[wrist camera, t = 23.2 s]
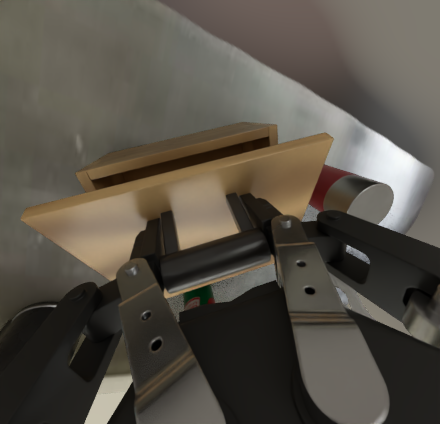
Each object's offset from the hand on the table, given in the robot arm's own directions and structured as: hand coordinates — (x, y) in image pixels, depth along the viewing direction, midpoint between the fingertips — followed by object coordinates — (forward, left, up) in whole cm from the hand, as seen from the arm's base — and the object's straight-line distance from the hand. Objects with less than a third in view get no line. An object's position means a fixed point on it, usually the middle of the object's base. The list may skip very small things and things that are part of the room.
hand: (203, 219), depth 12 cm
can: (+16, -5, -15) cm, 22 cm away
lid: (0, -4, -3) cm, 4 cm away
